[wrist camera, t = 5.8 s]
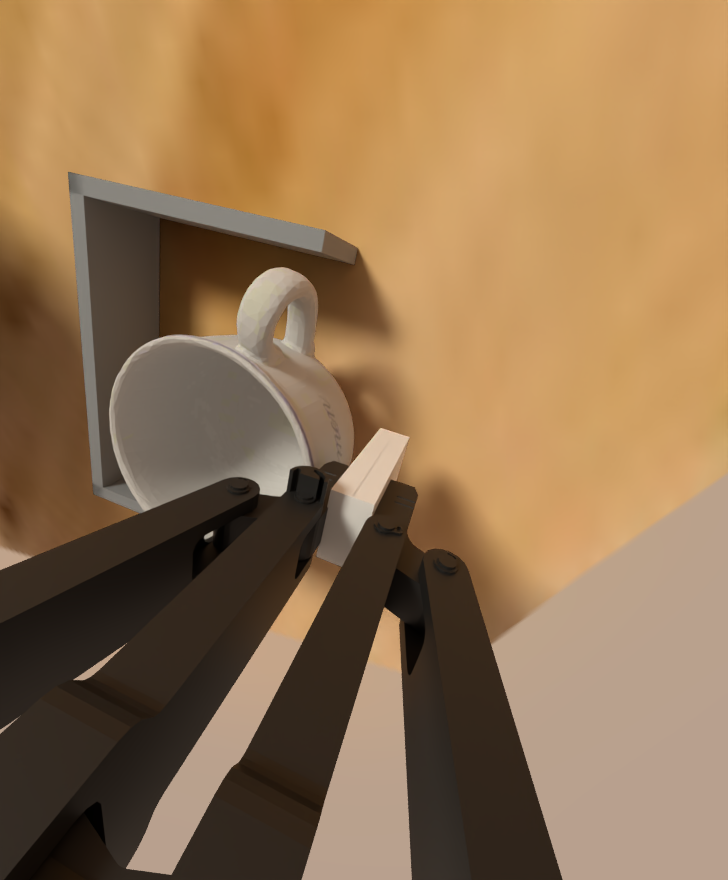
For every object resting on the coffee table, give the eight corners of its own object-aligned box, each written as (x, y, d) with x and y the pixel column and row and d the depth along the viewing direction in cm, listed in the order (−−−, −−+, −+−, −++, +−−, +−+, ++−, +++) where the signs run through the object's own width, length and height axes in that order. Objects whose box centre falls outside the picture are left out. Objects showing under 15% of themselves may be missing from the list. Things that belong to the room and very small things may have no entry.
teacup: (306, 523, 25) (237, 609, 18) (188, 420, 25) (70, 464, 18) (445, 368, 19) (425, 403, 12) (289, 233, 19) (175, 186, 12)
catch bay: (149, 466, 27) (93, 494, 23) (147, 199, 21) (67, 171, 17) (303, 525, 25) (270, 566, 21) (357, 247, 18) (325, 230, 14)
